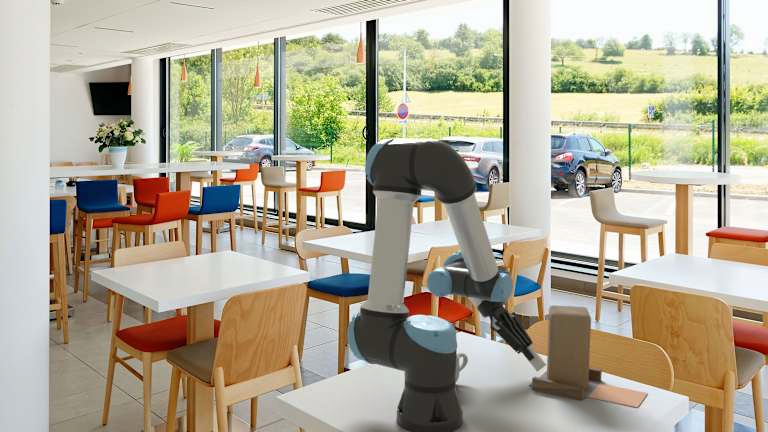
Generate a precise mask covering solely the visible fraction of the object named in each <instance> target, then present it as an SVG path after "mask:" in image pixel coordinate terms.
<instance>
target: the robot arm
mask: <svg viewBox="0 0 768 432" xmlns="http://www.w3.org/2000/svg"><path fill="white" fill-rule="evenodd" d="M364 169H365V171H364V172H365V175H366V180H367V181H368V183H370V185H372V186H373V189H372V194H373V195H374V196H375V197H376V198H377V209H376V220H375V228H374V237H373V246H372V247H373V249H372V257H371V266H370V274H369V282H368V292H367V293H368V295H367V299H366V300H365V301H364V302H363V303H362V304H360V309H359V311H358V312H356V313H355V314H354V315H353V316H352V318H351V321H349V323H348V327H347V335H346V336H347V344H348V347H349V349H350V351H351V352H352V354H353V355H354V357H355V358H356V359H358V360H360V361H362V362H363V361H364V362H366V363H368V364H370V365H378V366H382V367H385V368H389V369H393V370H398V371H401V372H404V388H403V389H402V390H403V391H402V393H401V395H400V399H399V401H398V404H397V408H396V422H397V424H398V425H400V426H401V427H402V428H404V429H405V430H407V431H409V432H453V431H455V430H457V429H459V428H460V427H461V426H462V425H463V423H464V421H463V420H464V417H463V416H464V415H463V409H462V405H461V403H460V398H459V395H458V392H457V388H456V386H457V382H456V354H458V353H457V349H458V341H457V339H458V338H457V331H456V328H455V327H454V324H452V323H451V322H450V321H448V320H446V319H443V318H442V317H438V316H435V315H425V314H414V315H410V311H409V309H408V307H407V306H406V305H405V303H404V299H405V290H406V280H407V273H408V272H407V271H408V261H409V253H410V252H409V251H410V245H411V243H410V242H411V235H412V224H413V213H414V205H415V203H416V202H417V201H419V200H420V199H421V198H422V197H421V196H422V190H423V189H424V190H429V191H430V190H431V192H432V191H433V193H435V196H436V198H437V201H438V202H439V203H441V204H444V208H445V210H446V213H447V216H448V218H449V222H450V224H451V227H452V230H453V233H454V235H455V239H456V241H457V243H458V246H459V249H460V250H457V251H456V252H454V253H452V254H451V255H450V256H448V258H446V259H445V261H444V262H443V266H439V267H436V268H435V269H434V270H432V271H431V272H430V273H428V275H427V278H426V287H427V289H428V291H429V292H430V294H432V295H433V296H434V297H438V298H442V297H448V296H449V295H451V296H452V295H453V296H459V297H464V298H468V300H469V301H470V303H472V305H473V306H474V307H476V306H477V307H476V309H477V311H478V312H479V314H481V316H482V317H483V318H484V319H486V318H489V320H490V321H491V322H492V325H490V329H491V330H493V332H495V333H497V335H498V336H500V337H501V339H503V340H504V342H506V344H507V345H508V346H509V347H511V348H512V350H513V351H514V352H515V353H517V354H518V355H520V353H521V354H522V355H523V356H524V357H525V358H526V360H527V361H528V362H529V363H530V365H531V366H532V367H533V368H534V370H536V372H537V373H538V372H539V371H540V370H541V369H544V367H545V366H547V363H545V361H544V360H543V359H542V357H541V356H540V355H539V354H538V353H537V351H536V350H535V349H534V347H533V346H532V345H533V343H534V342H533V340H532V338H531V337H530V336H529V334H528V332H527V331H526V329H525V327H523V324H522V323H521V322H520V320H519V319H518V316H517V314H516V313H515V312H514V311H512V312H511V313H510V312H509V311H508V309H507V308H505V307H504V305H505V303H506V302H508V301H509V300H510V297H511V296H512V293H513V290H514V289H513V288H514V281H513V278H512V276H511V275H509V274H508V273H504V272H500V269H499V267H498V264H497V260H496V257H495V254H494V251H493V248H492V245H491V242H490V238H489V235H488V232H487V230H486V229H487V228H486V227H485V222H484V220H483V217H482V214H481V211H480V208H479V204H478V201H477V198H476V194H475V193H476V191H477V184H476V181H475V177H474V174H473V173H472V171H471V169H470V167H469V165H468V164H467V163H466V161H465V160H464V158H463V157H462V156H461V155H460V154H459V152H458V151H456V150H455V149H454V148H453V147H452V146H451V145H449V144H448V143H446V142H444V141H442V140H439V139H436V138H402V137H401V138H399V137H397V138H396V137H394V138H388V139H386V138H385V139H382V140H379V141H378V142H376V143H375V144H374V145H373V146H371V148H370V150H369V152H368V154H367V155H366V159H365V167H364ZM409 315H410V316H409Z"/></svg>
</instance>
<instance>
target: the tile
mask: <svg viewBox="0 0 768 432" xmlns="http://www.w3.org/2000/svg"><path fill="white" fill-rule="evenodd" d="M648 394H649V393H648V392H645V391H641V390H640V391H639V390H636V389H634V390H633V389H630V388H624V387H621V386H615V385H610V384H606V383H602V382H601V383H600V384H599V385H598V386H597V387H596V388H595V389H594V390H593V391H592V392H591V394H590V395H589V396H588V397H587V398H589V399H595V400H598V401H599V400H600V401H603V402H607V403H613V404H616V405H622V406H627V407H631V408H636V409H638V408H639V407H640V406H641V404H642V402H643V401H644V399H645V398H646V397H647V395H648Z"/></svg>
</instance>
